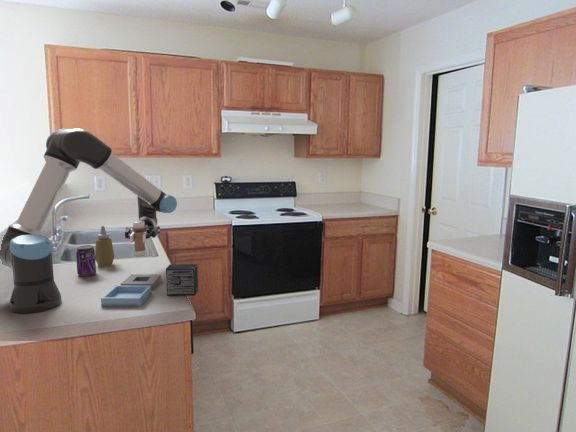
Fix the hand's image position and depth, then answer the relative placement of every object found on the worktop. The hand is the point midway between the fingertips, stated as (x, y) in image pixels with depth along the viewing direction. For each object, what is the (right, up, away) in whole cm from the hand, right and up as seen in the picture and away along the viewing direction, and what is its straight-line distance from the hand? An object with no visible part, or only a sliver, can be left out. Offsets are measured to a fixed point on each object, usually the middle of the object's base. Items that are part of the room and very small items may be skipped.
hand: (137, 238), depth 156 cm
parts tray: (-1, -21, -6) cm, 22 cm away
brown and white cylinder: (-1, -7, +7) cm, 9 cm away
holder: (-2, -19, +10) cm, 21 cm away
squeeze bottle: (-27, -14, +36) cm, 47 cm away
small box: (+16, -20, +1) cm, 26 cm away
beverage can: (-29, -16, +22) cm, 40 cm away
